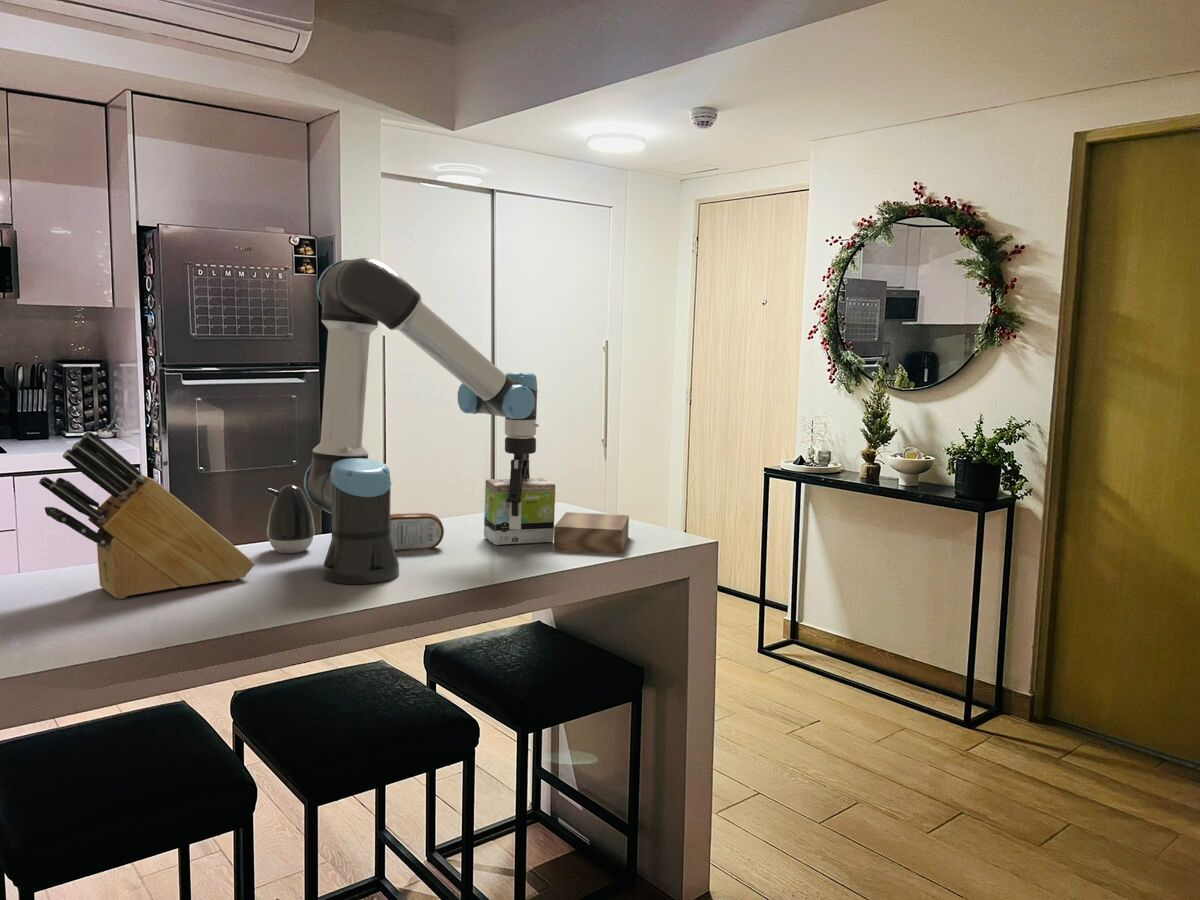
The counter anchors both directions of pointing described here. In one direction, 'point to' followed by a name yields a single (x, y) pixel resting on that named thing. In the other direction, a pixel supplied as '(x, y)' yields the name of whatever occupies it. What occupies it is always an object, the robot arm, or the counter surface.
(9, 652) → the counter surface
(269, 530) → the pump dispenser
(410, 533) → the tin
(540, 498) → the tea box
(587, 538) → the walnut block
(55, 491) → the knife block
